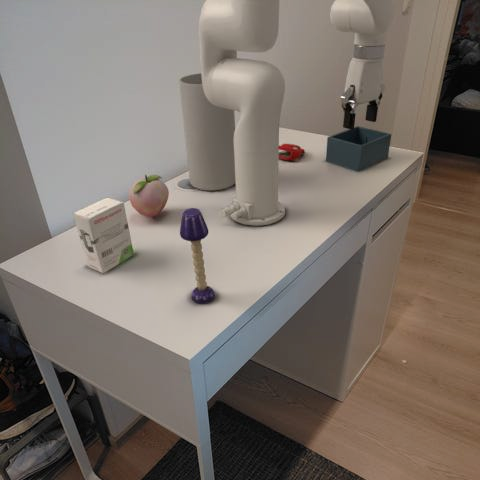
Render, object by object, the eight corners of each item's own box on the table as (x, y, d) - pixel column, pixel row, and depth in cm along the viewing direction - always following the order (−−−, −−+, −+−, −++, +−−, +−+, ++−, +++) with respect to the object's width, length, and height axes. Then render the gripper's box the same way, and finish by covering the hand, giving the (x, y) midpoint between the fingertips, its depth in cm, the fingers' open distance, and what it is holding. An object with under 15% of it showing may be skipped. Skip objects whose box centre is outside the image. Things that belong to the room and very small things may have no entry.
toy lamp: (207, 307, 84) (199, 219, 73) (183, 302, 85) (171, 215, 75) (218, 292, 87) (211, 206, 77) (195, 287, 89) (185, 202, 78)
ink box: (119, 248, 101) (107, 195, 94) (135, 255, 99) (124, 201, 92) (86, 266, 96) (71, 212, 89) (103, 274, 94) (89, 218, 86)
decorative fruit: (146, 205, 117) (139, 165, 111) (176, 210, 115) (171, 169, 109) (125, 222, 111) (116, 180, 104) (156, 228, 108) (149, 185, 102)
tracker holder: (300, 144, 144) (311, 147, 135) (297, 160, 146) (308, 163, 137) (261, 139, 141) (270, 141, 132) (259, 154, 143) (267, 157, 134)
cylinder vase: (181, 181, 129) (169, 78, 113) (219, 169, 134) (213, 70, 119) (207, 196, 121) (198, 87, 105) (246, 182, 126) (243, 78, 111)
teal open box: (358, 171, 129) (361, 146, 125) (325, 161, 136) (327, 137, 132) (387, 158, 136) (391, 133, 132) (355, 149, 143) (357, 125, 139)
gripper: (376, 47, 126) (367, 115, 137) (334, 55, 117) (328, 128, 128) (401, 49, 122) (390, 120, 132) (359, 59, 113) (350, 134, 123)
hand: (359, 124), depth 130 cm, fingers open, 9 cm apart
